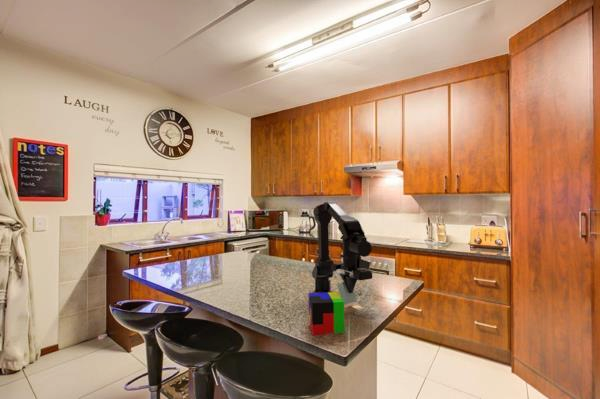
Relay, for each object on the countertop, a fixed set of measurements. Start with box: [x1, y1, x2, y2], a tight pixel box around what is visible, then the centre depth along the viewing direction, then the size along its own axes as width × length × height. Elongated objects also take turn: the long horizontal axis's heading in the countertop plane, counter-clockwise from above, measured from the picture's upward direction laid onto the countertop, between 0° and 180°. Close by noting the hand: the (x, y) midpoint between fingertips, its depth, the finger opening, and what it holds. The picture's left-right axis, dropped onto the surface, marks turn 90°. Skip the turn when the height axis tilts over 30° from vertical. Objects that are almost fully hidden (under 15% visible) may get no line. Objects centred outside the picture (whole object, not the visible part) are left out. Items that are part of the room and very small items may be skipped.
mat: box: [344, 304, 366, 315], centre depth 113 cm, size 14×10×1 cm
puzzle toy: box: [308, 291, 346, 336], centre depth 94 cm, size 10×10×10 cm
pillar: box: [336, 281, 359, 308], centre depth 111 cm, size 4×4×9 cm
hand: (350, 293), depth 110 cm, fingers closed
